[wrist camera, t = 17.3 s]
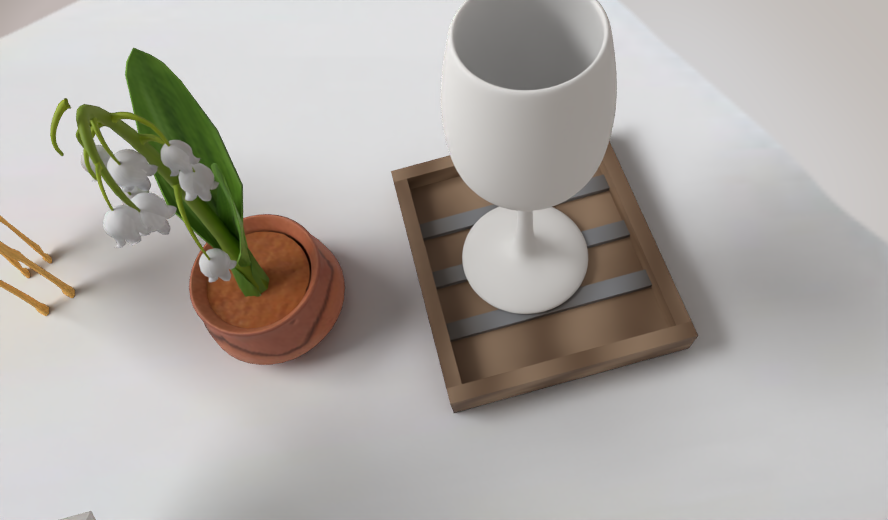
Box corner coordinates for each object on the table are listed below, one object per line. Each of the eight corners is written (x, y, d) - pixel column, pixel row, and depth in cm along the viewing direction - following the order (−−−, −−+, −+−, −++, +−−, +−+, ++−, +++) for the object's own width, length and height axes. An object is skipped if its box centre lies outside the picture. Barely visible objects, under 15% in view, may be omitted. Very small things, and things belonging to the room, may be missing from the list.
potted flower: (377, 362, 44) (232, 147, 22) (239, 419, 43) (-58, 258, 21) (327, 224, 49) (168, -63, 27) (203, 273, 49) (-66, 20, 26)
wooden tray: (454, 412, 42) (450, 403, 40) (396, 189, 50) (391, 171, 48) (688, 348, 42) (697, 335, 40) (594, 135, 50) (597, 115, 48)
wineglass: (599, 217, 46) (656, -31, 27) (571, 329, 42) (613, 135, 24) (482, 192, 48) (458, -56, 29) (446, 296, 44) (392, 93, 25)
